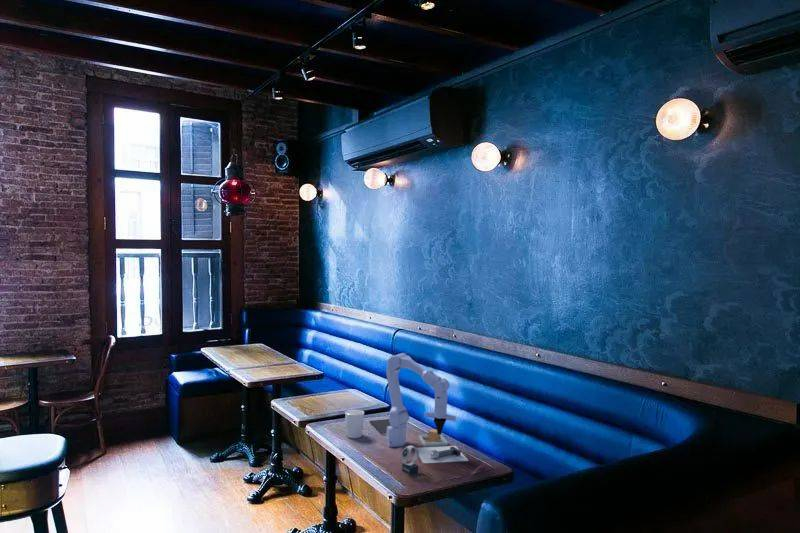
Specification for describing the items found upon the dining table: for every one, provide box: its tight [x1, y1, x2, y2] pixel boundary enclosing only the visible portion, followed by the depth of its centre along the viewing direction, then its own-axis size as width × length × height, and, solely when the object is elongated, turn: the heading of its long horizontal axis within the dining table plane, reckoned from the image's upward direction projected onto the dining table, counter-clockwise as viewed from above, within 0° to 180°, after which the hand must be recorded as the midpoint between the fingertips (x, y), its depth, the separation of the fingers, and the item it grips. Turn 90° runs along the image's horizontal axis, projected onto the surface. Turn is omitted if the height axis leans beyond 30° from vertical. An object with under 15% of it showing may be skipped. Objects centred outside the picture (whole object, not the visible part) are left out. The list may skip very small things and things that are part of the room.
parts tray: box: [418, 434, 449, 447], centre depth 269 cm, size 12×12×2 cm
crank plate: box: [413, 445, 469, 464], centre depth 253 cm, size 21×19×1 cm
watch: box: [400, 445, 420, 476], centre depth 234 cm, size 6×8×11 cm
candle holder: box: [344, 408, 365, 439], centre depth 278 cm, size 10×10×12 cm
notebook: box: [369, 418, 391, 436], centre depth 292 cm, size 13×2×21 cm
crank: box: [430, 447, 462, 459], centre depth 250 cm, size 14×6×3 cm, turn 119°
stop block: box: [427, 428, 440, 443], centre depth 269 cm, size 4×4×6 cm
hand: (439, 434), depth 256 cm, fingers closed
